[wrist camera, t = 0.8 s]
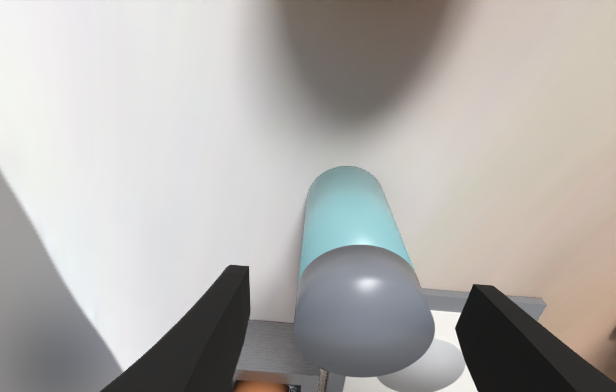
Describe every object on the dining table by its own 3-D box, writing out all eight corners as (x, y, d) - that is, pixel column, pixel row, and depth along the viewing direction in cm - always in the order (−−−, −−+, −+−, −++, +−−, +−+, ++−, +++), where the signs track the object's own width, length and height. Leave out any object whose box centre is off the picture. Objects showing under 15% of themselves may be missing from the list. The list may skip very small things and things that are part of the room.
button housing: (320, 325, 20) (319, 376, 17) (312, 387, 23) (311, 439, 20) (216, 317, 20) (197, 365, 17) (223, 380, 23) (208, 430, 20)
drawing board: (541, 298, 18) (549, 307, 17) (472, 416, 24) (476, 426, 23) (342, 282, 18) (342, 290, 18) (323, 403, 24) (323, 412, 24)
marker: (390, 169, 15) (452, 288, 8) (376, 236, 17) (416, 382, 10) (309, 163, 15) (296, 275, 8) (304, 230, 17) (290, 371, 10)
